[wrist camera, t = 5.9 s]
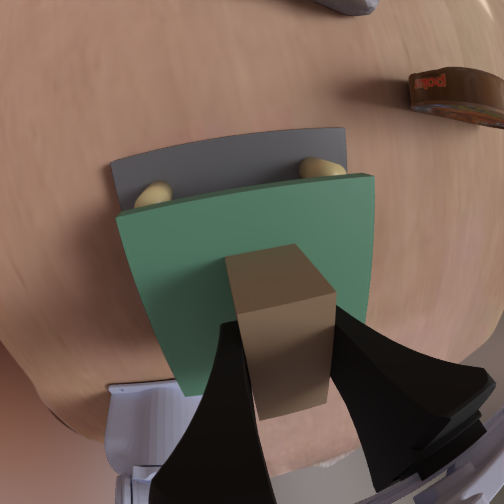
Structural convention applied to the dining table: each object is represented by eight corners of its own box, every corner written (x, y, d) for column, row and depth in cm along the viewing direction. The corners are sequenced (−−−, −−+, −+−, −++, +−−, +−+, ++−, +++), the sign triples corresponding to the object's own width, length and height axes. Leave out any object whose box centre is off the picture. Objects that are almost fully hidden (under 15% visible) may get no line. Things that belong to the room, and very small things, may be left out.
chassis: (170, 338, 20) (168, 376, 17) (115, 160, 14) (91, 170, 11) (337, 304, 22) (358, 334, 18) (337, 127, 16) (372, 130, 12)
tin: (388, 108, 16) (481, 115, 8) (383, 68, 14) (475, 57, 7) (487, 128, 17) (550, 145, 10) (486, 99, 16) (549, 111, 8)
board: (184, 384, 15) (186, 453, 11) (121, 211, 11) (74, 260, 6) (352, 346, 16) (389, 401, 12) (362, 172, 12) (438, 196, 7)
